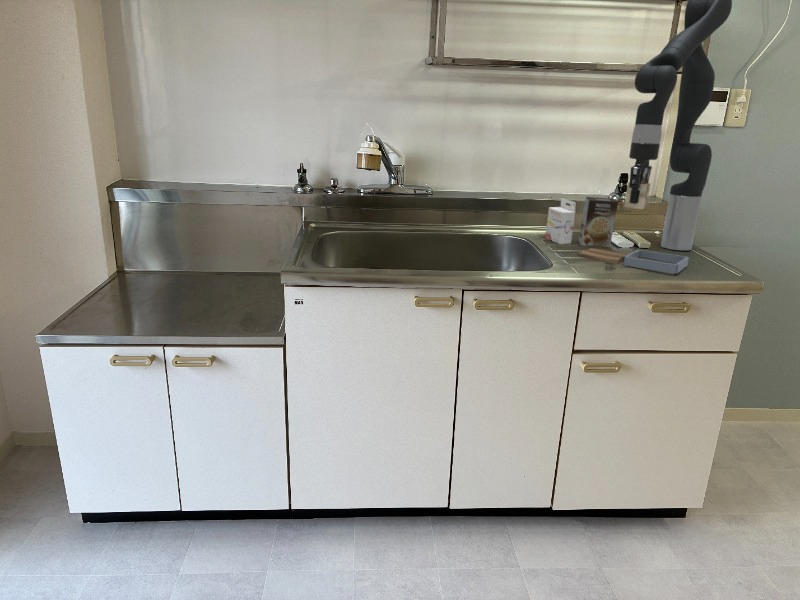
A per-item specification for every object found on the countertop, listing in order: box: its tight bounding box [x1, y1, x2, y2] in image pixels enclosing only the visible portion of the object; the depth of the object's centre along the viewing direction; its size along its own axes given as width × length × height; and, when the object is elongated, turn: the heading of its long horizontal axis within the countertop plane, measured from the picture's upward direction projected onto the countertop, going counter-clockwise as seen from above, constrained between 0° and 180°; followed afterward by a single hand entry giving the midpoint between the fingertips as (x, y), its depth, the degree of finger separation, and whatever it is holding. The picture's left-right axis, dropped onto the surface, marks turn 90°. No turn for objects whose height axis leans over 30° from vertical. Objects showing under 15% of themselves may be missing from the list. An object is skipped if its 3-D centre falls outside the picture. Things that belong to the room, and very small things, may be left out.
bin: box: [622, 249, 690, 275], centre depth 167 cm, size 15×15×2 cm
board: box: [576, 247, 629, 265], centre depth 175 cm, size 12×12×1 cm
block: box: [623, 181, 651, 210], centre depth 166 cm, size 5×5×7 cm
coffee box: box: [578, 196, 619, 248], centre depth 187 cm, size 9×6×16 cm
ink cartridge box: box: [544, 197, 577, 245], centre depth 190 cm, size 9×5×15 cm, turn 22°
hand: (636, 202), depth 166 cm, fingers closed on block, 5 cm apart
